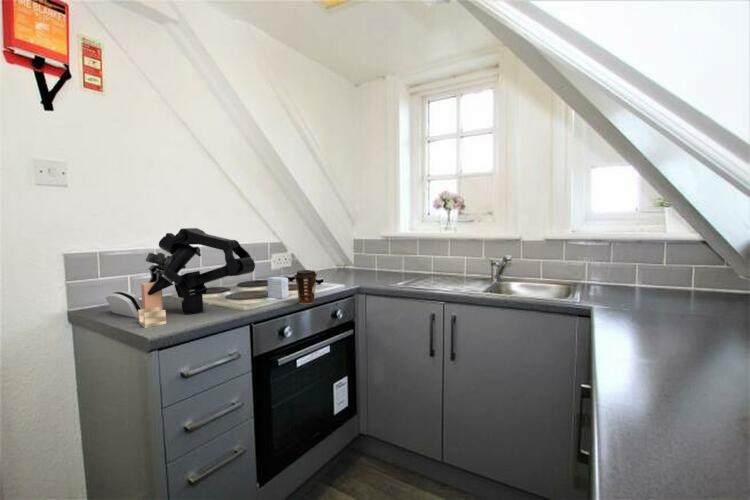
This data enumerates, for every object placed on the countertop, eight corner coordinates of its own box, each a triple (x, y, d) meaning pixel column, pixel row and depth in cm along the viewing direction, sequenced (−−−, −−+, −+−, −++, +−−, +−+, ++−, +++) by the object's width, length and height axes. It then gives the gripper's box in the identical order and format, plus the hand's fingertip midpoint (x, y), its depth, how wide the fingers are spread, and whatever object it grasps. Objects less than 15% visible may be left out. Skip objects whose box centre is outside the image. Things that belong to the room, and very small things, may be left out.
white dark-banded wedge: (151, 314, 130) (140, 290, 126) (139, 322, 126) (126, 297, 122) (126, 309, 138) (115, 286, 134) (114, 316, 134) (101, 293, 130)
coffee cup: (312, 299, 151) (312, 269, 150) (321, 303, 144) (320, 271, 143) (293, 302, 146) (292, 270, 145) (300, 306, 140) (299, 273, 138)
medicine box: (288, 297, 156) (288, 277, 156) (282, 299, 152) (281, 279, 152) (274, 295, 160) (274, 276, 159) (267, 297, 156) (267, 278, 155)
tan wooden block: (159, 319, 123) (158, 306, 123) (166, 323, 118) (165, 310, 118) (138, 323, 119) (137, 309, 118) (145, 327, 114) (144, 313, 113)
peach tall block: (160, 309, 129) (158, 281, 128) (163, 311, 126) (161, 282, 125) (142, 311, 125) (140, 283, 124) (145, 314, 122) (144, 285, 121)
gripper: (153, 243, 132) (119, 276, 125) (169, 245, 119) (133, 282, 113) (177, 262, 139) (146, 294, 132) (195, 266, 126) (162, 302, 119)
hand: (146, 293), depth 124 cm, fingers closed on peach tall block, 4 cm apart
